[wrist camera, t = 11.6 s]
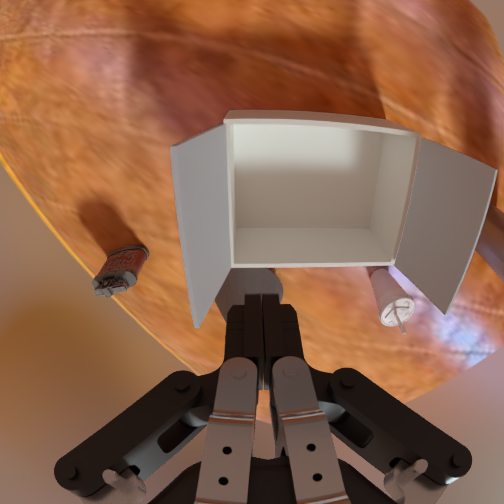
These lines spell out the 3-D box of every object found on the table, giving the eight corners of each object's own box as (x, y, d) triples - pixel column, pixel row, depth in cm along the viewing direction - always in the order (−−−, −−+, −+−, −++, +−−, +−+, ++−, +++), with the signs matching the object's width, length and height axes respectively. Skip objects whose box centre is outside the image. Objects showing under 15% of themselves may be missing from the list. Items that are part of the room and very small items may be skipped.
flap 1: (176, 146, 19) (169, 146, 19) (199, 328, 28) (194, 327, 29) (226, 123, 28) (221, 123, 28) (231, 268, 37) (227, 267, 37)
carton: (386, 119, 37) (421, 133, 28) (370, 230, 46) (393, 265, 38) (229, 110, 37) (223, 119, 28) (232, 229, 46) (229, 267, 38)
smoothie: (360, 268, 51) (387, 326, 39) (393, 257, 49) (427, 310, 38) (365, 294, 54) (389, 351, 42) (396, 283, 53) (425, 337, 41)
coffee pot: (201, 286, 52) (189, 353, 39) (243, 242, 47) (242, 307, 35) (288, 338, 60) (296, 401, 47) (331, 305, 55) (350, 369, 42)
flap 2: (421, 137, 28) (424, 137, 28) (394, 265, 37) (396, 264, 37) (495, 169, 20) (497, 170, 20) (444, 314, 29) (447, 313, 29)
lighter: (113, 267, 50) (93, 304, 41) (105, 252, 48) (82, 287, 40) (152, 258, 49) (135, 297, 40) (144, 241, 47) (124, 278, 39)
